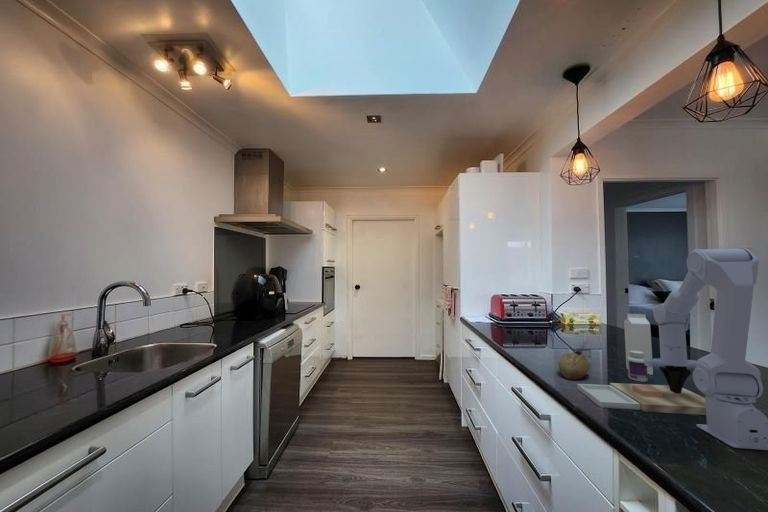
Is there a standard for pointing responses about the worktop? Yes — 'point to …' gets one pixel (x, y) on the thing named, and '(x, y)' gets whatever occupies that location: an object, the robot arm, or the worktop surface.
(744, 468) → the worktop surface
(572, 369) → the bread roll
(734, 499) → the worktop surface
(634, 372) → the pill bottle
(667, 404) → the chopping board
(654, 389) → the terracotta tile
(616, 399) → the tray
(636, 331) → the milk
